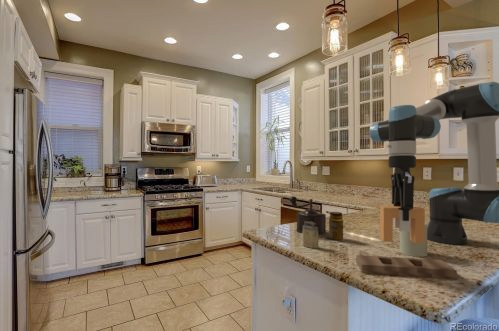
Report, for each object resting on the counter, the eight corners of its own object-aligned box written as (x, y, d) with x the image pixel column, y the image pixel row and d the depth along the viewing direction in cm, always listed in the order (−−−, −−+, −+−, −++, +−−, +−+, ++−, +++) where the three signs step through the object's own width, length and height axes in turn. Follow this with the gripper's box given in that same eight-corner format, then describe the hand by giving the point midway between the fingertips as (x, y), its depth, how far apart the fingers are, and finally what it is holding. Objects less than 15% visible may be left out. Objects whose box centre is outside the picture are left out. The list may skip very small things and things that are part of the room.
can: (428, 258, 96) (428, 224, 96) (398, 254, 101) (398, 222, 101) (427, 251, 104) (427, 220, 104) (399, 247, 108) (399, 217, 108)
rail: (441, 267, 87) (441, 259, 87) (456, 279, 78) (456, 270, 78) (356, 262, 92) (356, 254, 92) (361, 272, 84) (361, 264, 84)
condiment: (347, 239, 120) (347, 212, 120) (334, 242, 116) (334, 214, 116) (334, 236, 126) (334, 210, 126) (321, 239, 122) (321, 212, 122)
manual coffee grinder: (310, 228, 142) (310, 194, 142) (326, 232, 133) (326, 196, 133) (287, 232, 134) (287, 196, 134) (303, 237, 124) (302, 198, 124)
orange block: (419, 240, 86) (419, 207, 86) (424, 243, 82) (424, 209, 82) (380, 238, 88) (380, 205, 88) (383, 241, 84) (383, 207, 84)
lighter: (320, 247, 109) (320, 222, 109) (314, 249, 107) (314, 224, 107) (305, 243, 114) (305, 220, 114) (300, 245, 112) (300, 221, 112)
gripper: (381, 156, 94) (381, 223, 94) (398, 154, 78) (398, 235, 78) (405, 156, 93) (404, 224, 93) (427, 153, 76) (427, 236, 76)
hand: (401, 229), depth 85 cm, fingers closed on orange block, 4 cm apart
